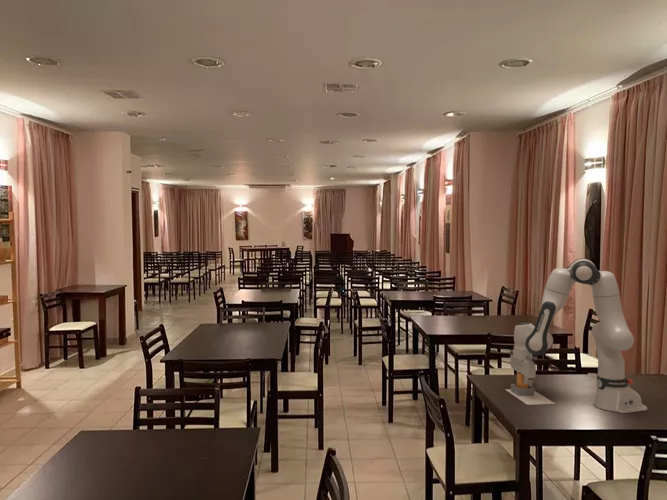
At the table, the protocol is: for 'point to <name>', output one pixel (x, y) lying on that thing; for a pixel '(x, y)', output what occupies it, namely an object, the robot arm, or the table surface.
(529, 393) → the white board with socket
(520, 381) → the plug
